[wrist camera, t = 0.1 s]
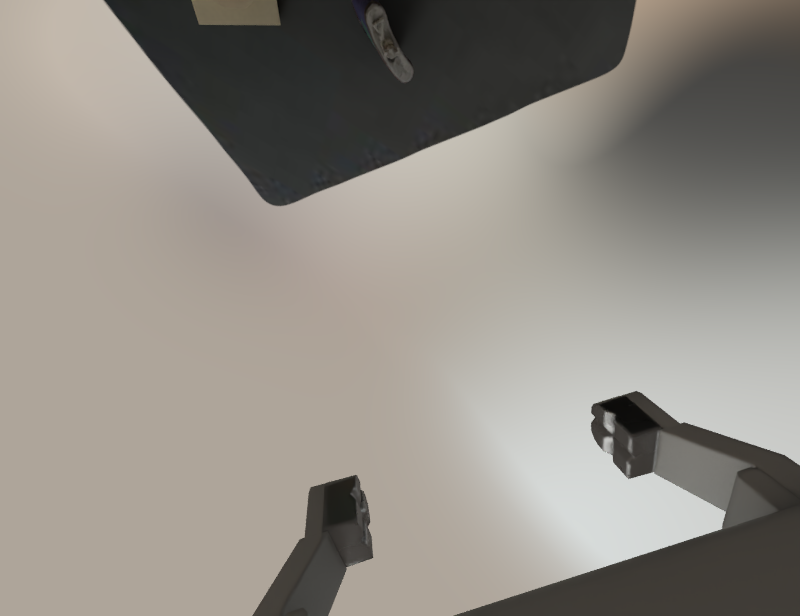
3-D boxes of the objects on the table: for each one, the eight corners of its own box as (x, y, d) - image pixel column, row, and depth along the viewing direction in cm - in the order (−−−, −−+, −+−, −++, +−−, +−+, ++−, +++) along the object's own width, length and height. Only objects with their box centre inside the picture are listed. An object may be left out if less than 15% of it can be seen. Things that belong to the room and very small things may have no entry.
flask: (401, 51, 49) (421, 81, 43) (384, 65, 50) (402, 96, 44) (362, -24, 42) (380, -1, 36) (343, -6, 43) (358, 20, 37)
